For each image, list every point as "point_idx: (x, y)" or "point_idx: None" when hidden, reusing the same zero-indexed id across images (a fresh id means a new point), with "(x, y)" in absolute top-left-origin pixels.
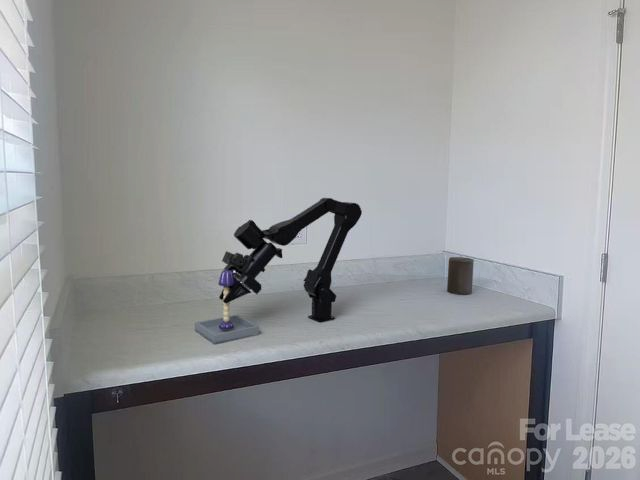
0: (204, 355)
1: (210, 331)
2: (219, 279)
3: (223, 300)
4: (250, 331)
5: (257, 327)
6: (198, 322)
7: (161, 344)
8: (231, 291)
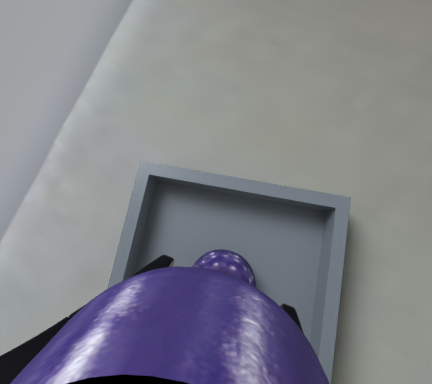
0: (101, 98)
1: (191, 176)
2: (243, 320)
3: (166, 258)
4: None
5: None
6: (338, 209)
7: (281, 52)
8: (55, 329)
